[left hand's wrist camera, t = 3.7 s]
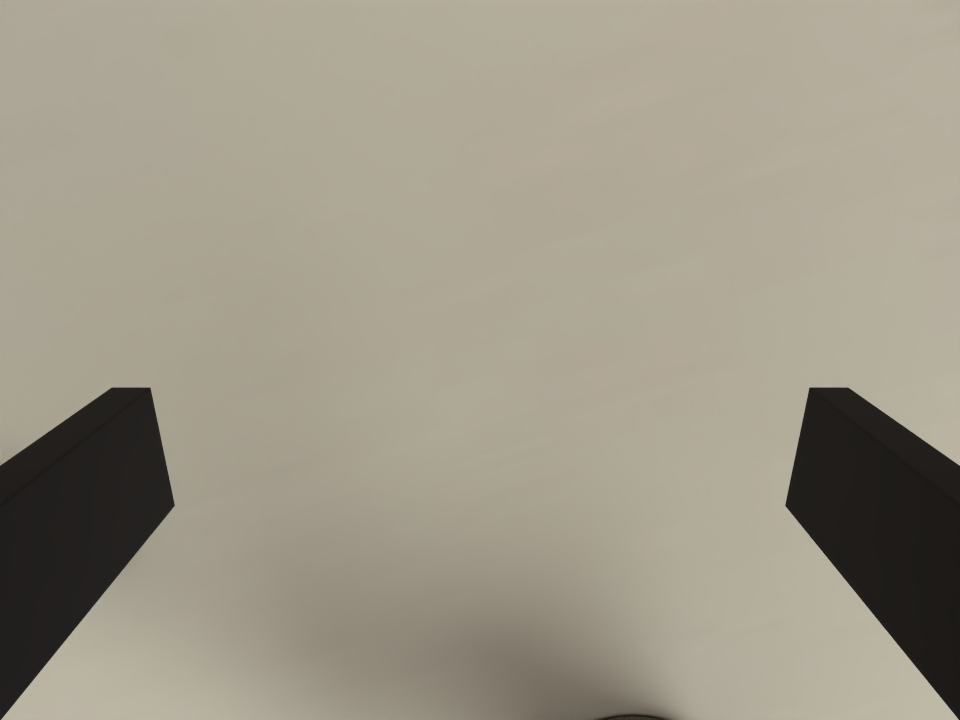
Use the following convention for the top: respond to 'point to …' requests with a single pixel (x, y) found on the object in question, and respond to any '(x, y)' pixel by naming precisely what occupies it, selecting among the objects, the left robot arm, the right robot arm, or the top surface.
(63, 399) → the top surface
